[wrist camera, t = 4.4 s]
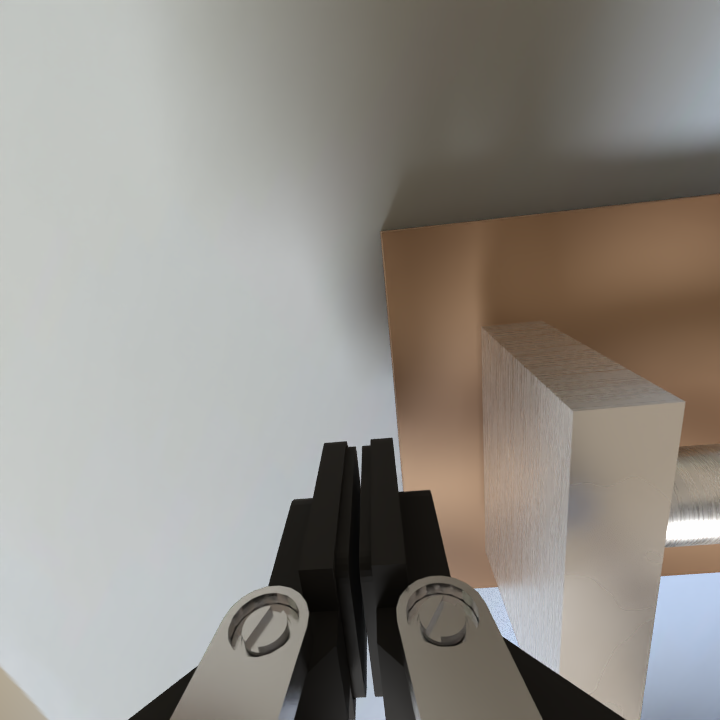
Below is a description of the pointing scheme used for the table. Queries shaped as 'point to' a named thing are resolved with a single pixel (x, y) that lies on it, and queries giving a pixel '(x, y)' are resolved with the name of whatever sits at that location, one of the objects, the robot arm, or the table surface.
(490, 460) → the plunger
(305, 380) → the table surface
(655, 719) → the table surface
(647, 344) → the gauge board
